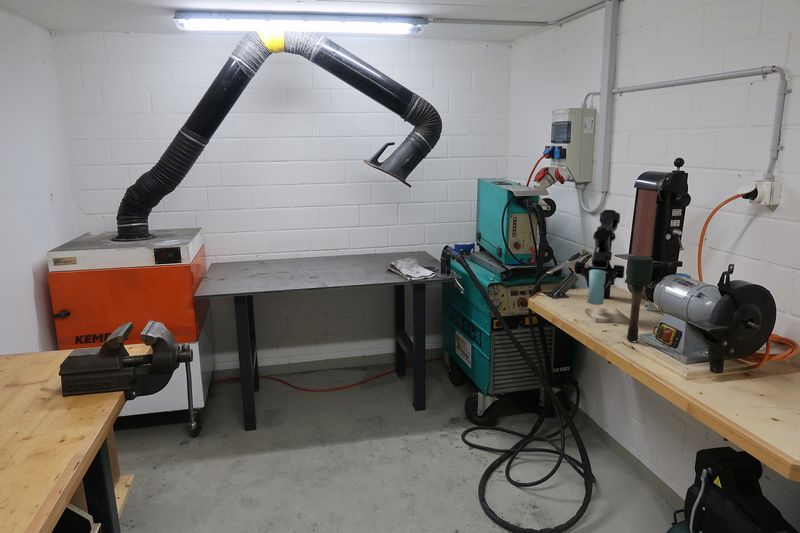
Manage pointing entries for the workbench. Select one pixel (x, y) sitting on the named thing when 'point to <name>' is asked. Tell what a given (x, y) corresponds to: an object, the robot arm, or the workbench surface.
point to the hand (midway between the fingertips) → (596, 287)
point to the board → (606, 315)
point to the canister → (596, 286)
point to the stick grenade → (637, 288)
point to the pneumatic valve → (649, 305)
